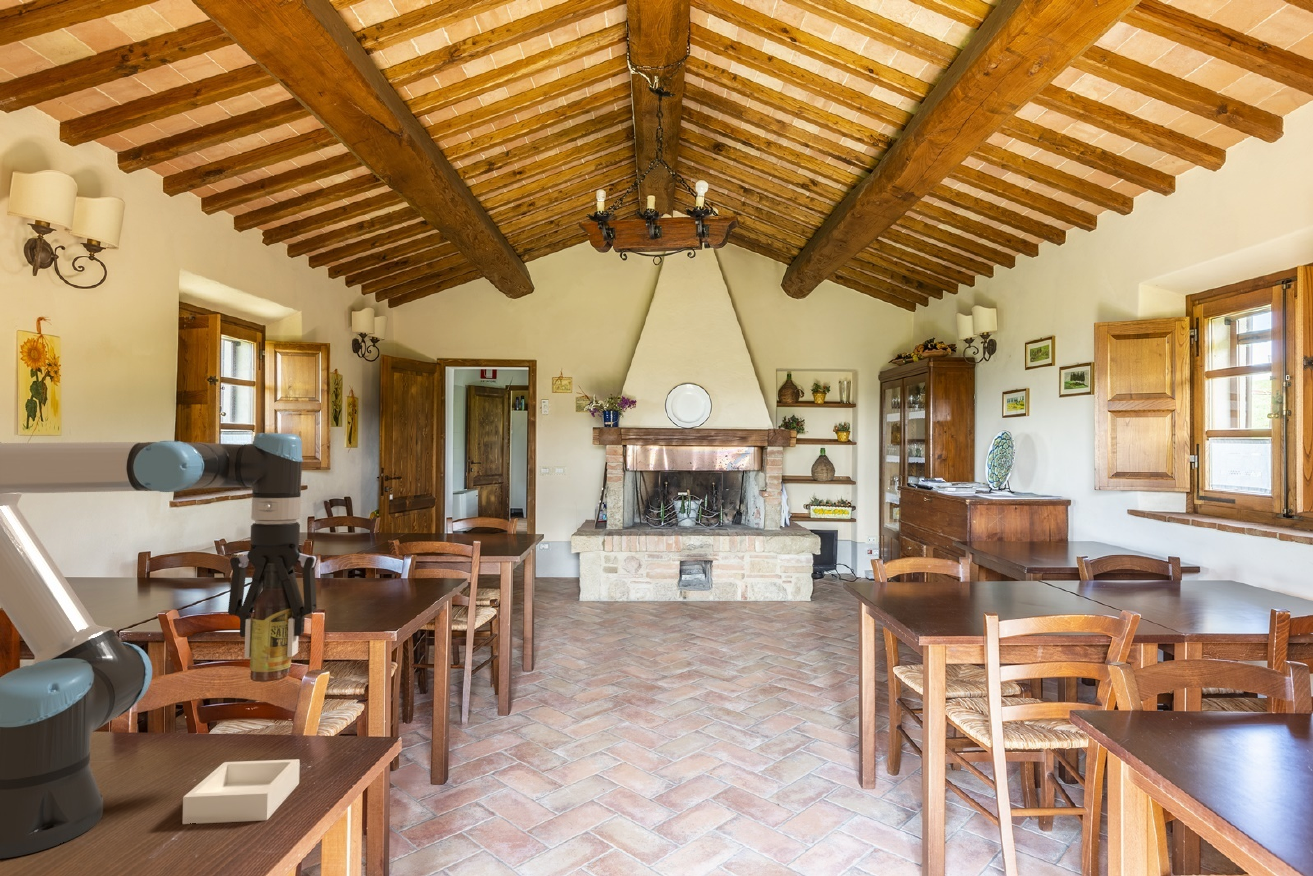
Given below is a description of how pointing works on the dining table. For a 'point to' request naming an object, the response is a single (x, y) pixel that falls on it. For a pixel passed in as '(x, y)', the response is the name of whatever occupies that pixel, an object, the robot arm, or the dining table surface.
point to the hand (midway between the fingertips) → (271, 654)
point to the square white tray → (241, 791)
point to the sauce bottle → (270, 630)
